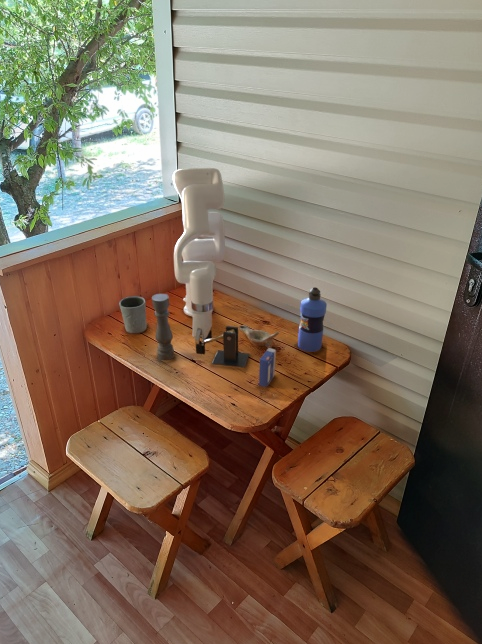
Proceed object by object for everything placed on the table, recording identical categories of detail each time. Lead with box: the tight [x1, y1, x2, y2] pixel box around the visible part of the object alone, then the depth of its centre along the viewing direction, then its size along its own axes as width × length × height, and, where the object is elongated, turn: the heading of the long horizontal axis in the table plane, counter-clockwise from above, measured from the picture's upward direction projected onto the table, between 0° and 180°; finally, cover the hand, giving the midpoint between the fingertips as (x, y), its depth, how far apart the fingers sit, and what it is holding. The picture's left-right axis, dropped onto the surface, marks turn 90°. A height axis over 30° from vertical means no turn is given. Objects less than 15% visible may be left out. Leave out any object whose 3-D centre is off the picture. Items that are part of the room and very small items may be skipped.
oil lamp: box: [238, 324, 280, 349], centre depth 183 cm, size 9×21×10 cm, turn 40°
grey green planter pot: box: [118, 295, 148, 334], centre depth 191 cm, size 10×10×12 cm
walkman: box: [258, 347, 277, 388], centre depth 161 cm, size 8×3×12 cm, turn 156°
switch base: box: [212, 325, 250, 368], centre depth 171 cm, size 12×9×13 cm
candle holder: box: [151, 293, 175, 363], centre depth 169 cm, size 6×6×25 cm
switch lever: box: [204, 329, 235, 345], centre depth 170 cm, size 13×5×2 cm, turn 79°
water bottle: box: [297, 287, 328, 353], centre depth 176 cm, size 9×9×25 cm
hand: (204, 346), depth 174 cm, fingers open, 9 cm apart
